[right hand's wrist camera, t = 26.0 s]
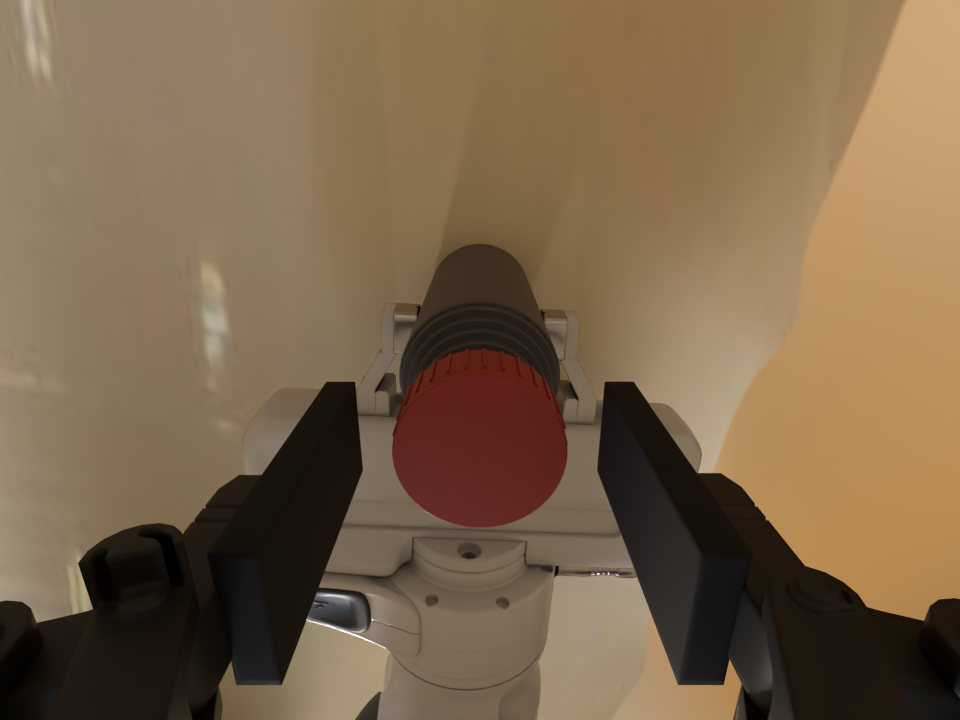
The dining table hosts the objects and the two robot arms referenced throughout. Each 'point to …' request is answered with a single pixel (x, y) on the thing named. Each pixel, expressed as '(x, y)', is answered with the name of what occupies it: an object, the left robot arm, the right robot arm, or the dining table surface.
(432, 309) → the bottle
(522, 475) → the cap
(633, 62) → the dining table surface
